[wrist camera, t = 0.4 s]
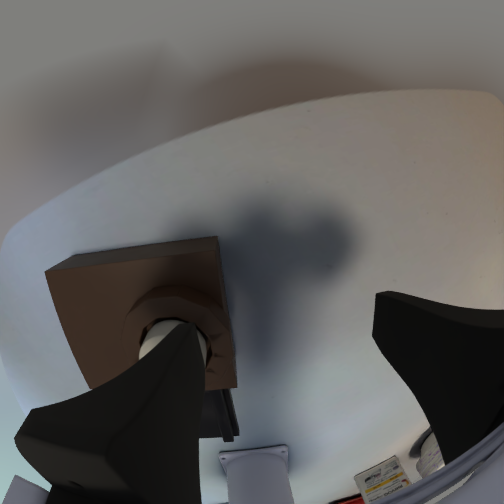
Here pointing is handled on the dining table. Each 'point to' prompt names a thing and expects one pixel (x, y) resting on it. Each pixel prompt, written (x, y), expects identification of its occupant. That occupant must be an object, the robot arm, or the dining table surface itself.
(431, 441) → the paper bowls
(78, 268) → the brown push button box
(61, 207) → the dining table surface
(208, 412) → the pan
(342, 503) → the butter dish
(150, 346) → the button
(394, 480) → the container
